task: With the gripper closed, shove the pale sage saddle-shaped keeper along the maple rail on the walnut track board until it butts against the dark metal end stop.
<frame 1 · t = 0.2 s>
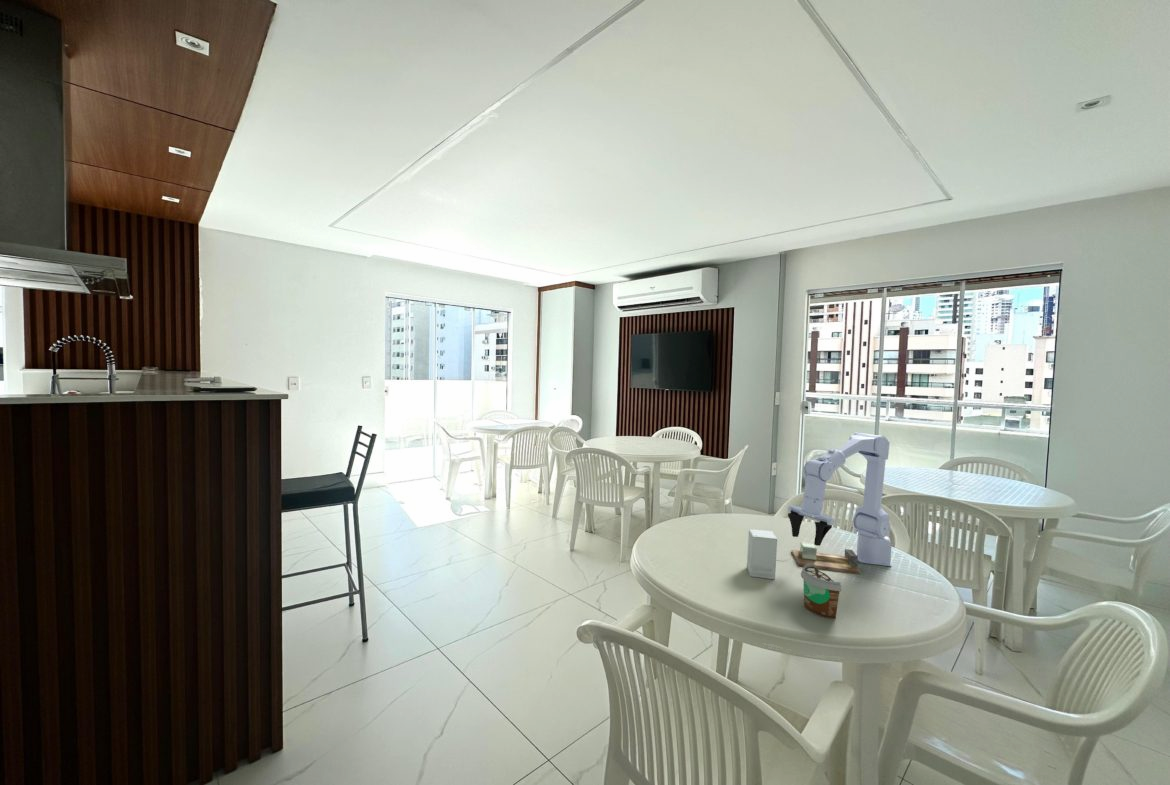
hand: (805, 540, 141), 11 cm above the table, tool pointing down, fingers open, 7 cm apart
supplement box: (760, 573, 141), on the table
food container: (813, 609, 120), on the table
keeper: (808, 550, 152), point 3 cm above the table, slide at 0.0 cm
track board: (823, 562, 151), on the table
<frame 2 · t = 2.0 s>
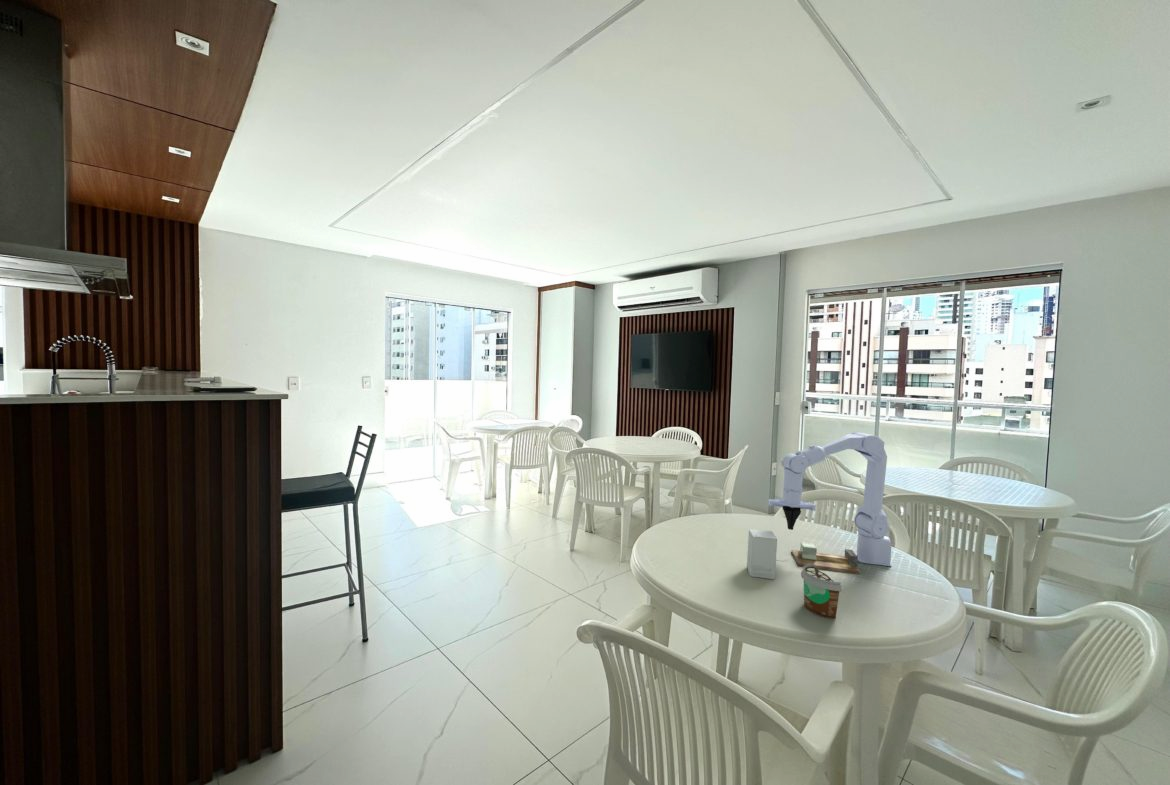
hand: (790, 528, 153), 10 cm above the table, tool pointing down, fingers closed
nothing on the table moved.
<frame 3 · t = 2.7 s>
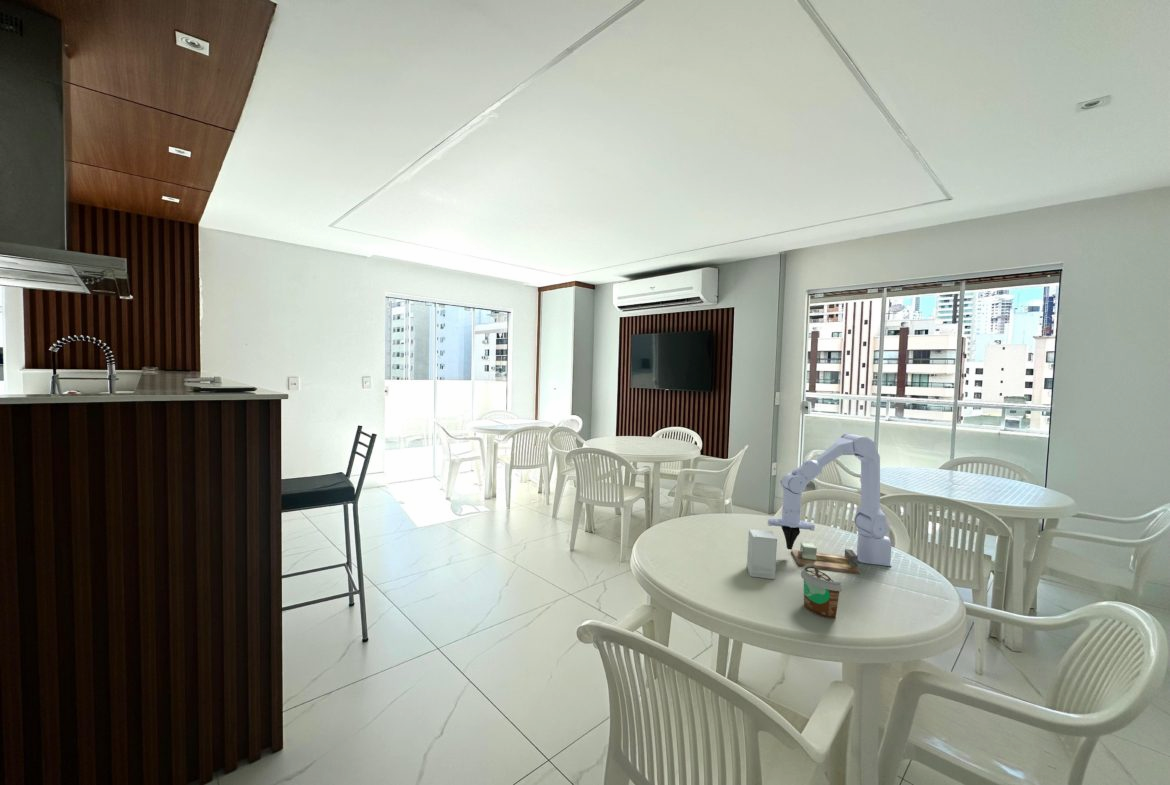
hand: (789, 548, 153), 3 cm above the table, tool pointing down, fingers closed
nothing on the table moved.
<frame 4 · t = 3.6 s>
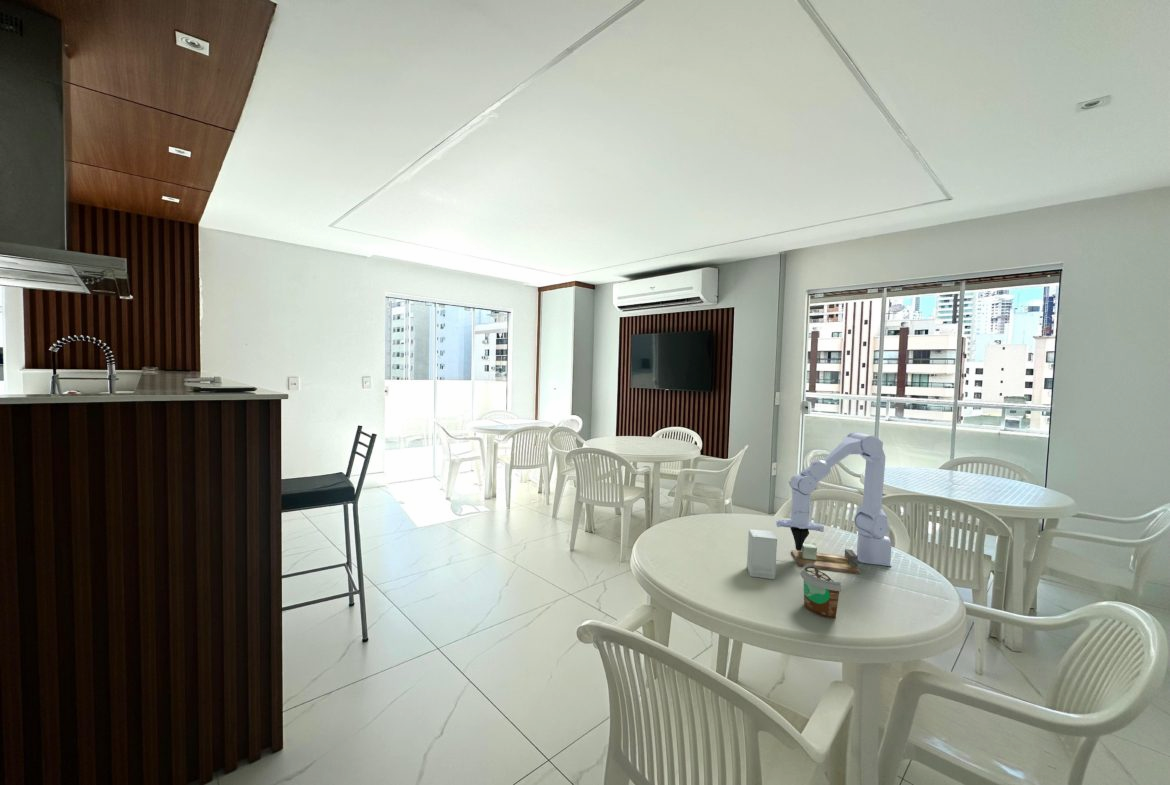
hand: (798, 549, 153), 3 cm above the table, tool pointing down, fingers closed
keeper: (808, 550, 152), point 3 cm above the table, slide at 0.1 cm, touching gripper
everything else where it was.
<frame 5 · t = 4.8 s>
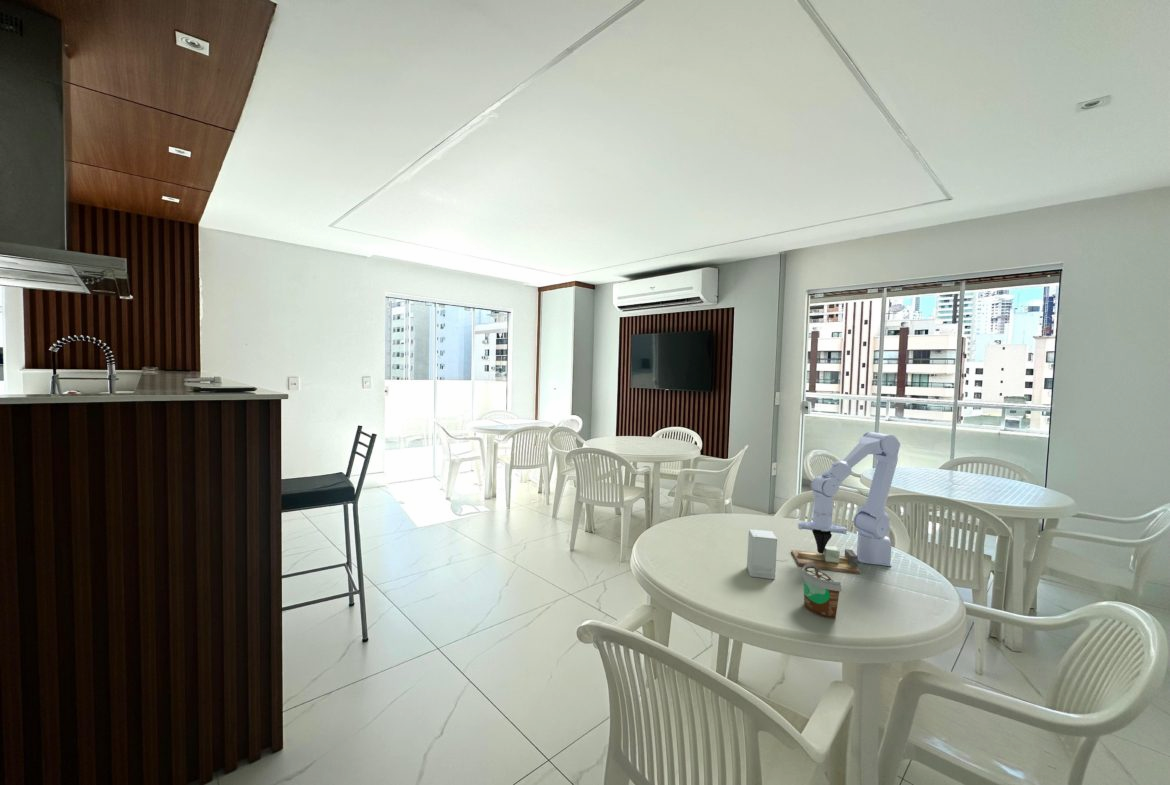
hand: (820, 552, 151), 3 cm above the table, tool pointing down, fingers closed
keeper: (830, 553, 150), point 3 cm above the table, slide at 6.9 cm, touching gripper
everything else where it was.
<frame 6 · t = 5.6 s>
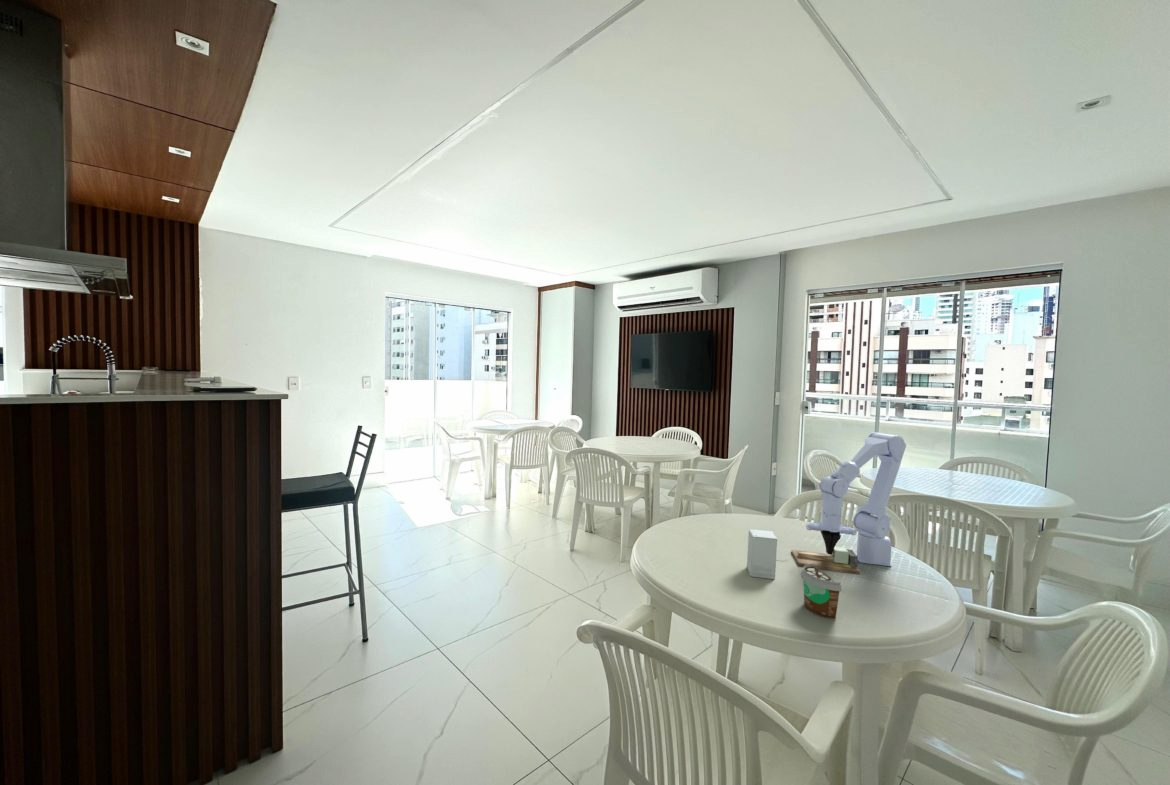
hand: (829, 553, 150), 3 cm above the table, tool pointing down, fingers closed
keeper: (839, 554, 149), point 3 cm above the table, slide at 9.6 cm, touching gripper
everything else where it was.
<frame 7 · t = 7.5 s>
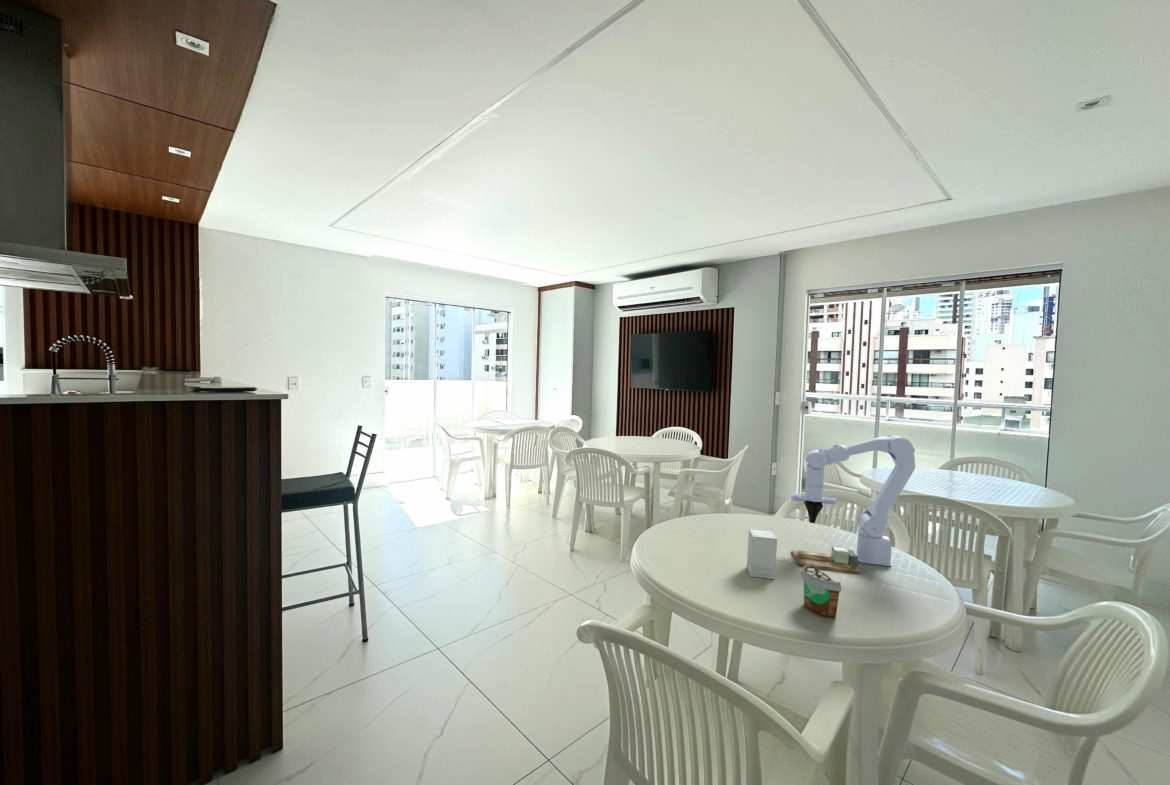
hand: (812, 522, 160), 10 cm above the table, tool pointing down, fingers closed
keeper: (839, 554, 149), point 3 cm above the table, slide at 9.7 cm
everything else where it was.
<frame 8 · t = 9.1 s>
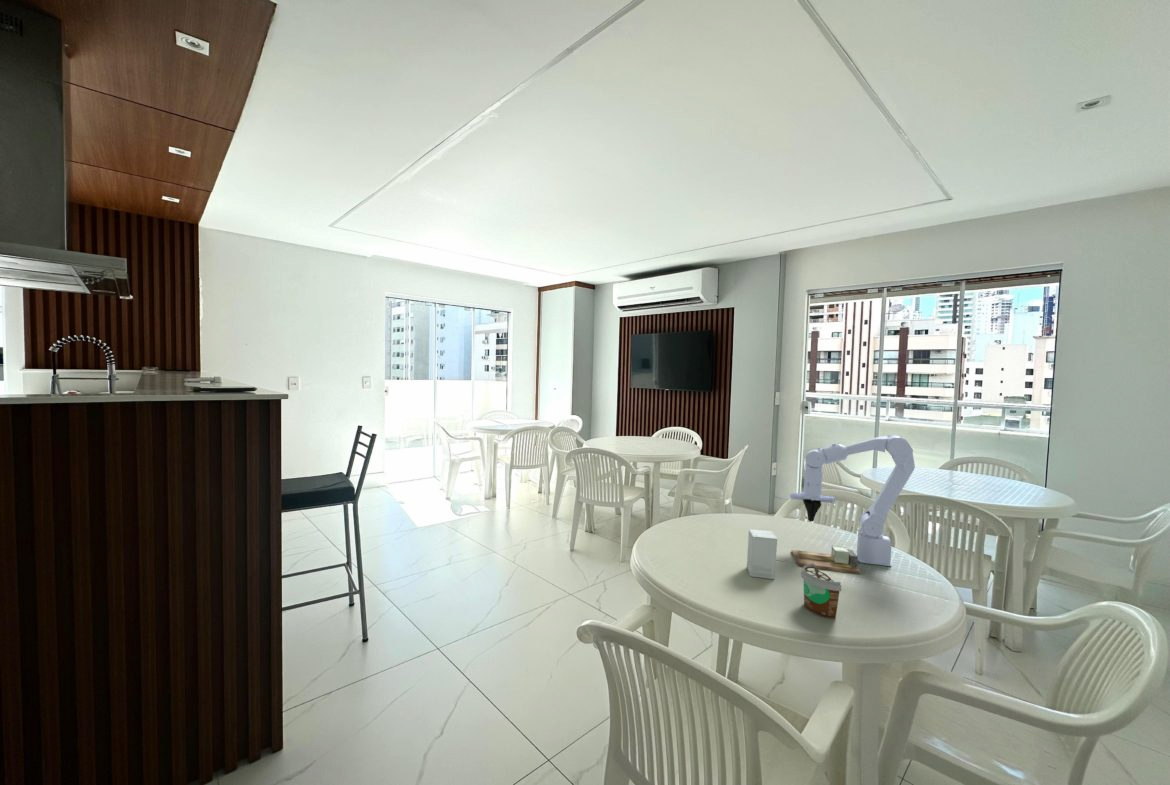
hand: (810, 520, 162), 10 cm above the table, tool pointing down, fingers closed
nothing on the table moved.
at the end: keeper slide at 9.7 cm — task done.
